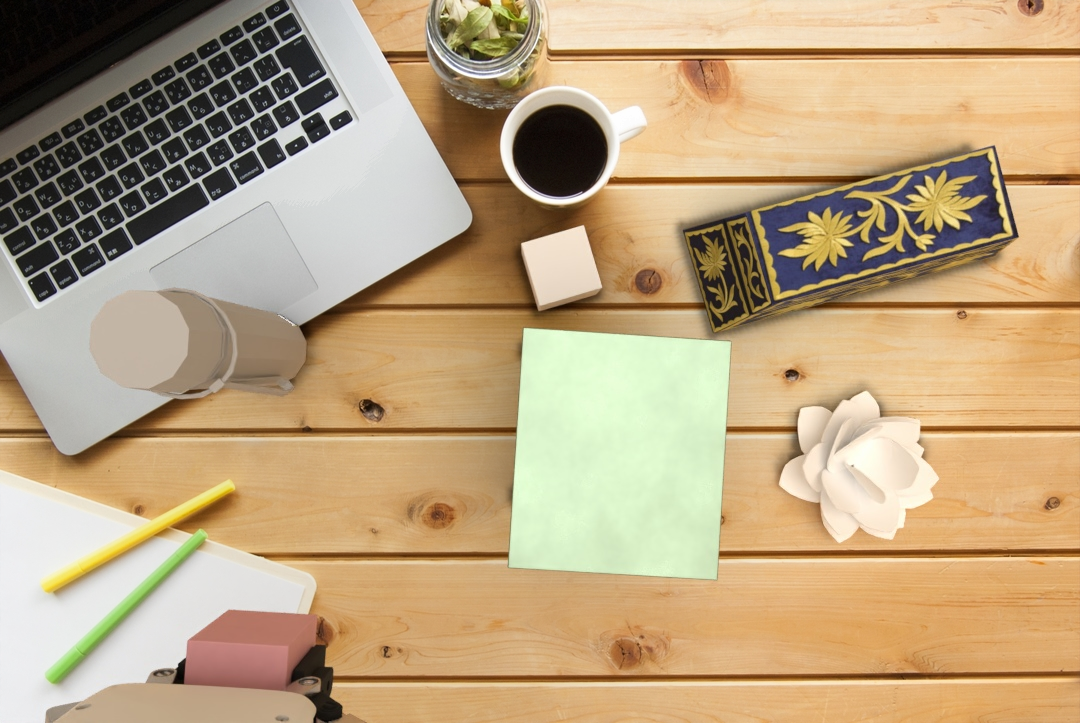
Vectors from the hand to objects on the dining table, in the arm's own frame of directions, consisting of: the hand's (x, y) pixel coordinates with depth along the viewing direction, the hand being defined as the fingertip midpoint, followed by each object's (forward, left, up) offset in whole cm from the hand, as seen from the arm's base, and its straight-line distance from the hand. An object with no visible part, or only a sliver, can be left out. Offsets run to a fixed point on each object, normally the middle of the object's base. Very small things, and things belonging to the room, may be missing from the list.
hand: (266, 669), depth 40 cm
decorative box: (+32, -44, -32) cm, 63 cm away
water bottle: (+17, +11, -32) cm, 38 cm away
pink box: (0, 0, 0) cm, 0 cm away
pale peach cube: (+27, -16, -32) cm, 45 cm away
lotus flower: (+10, -46, -32) cm, 57 cm away
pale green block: (+12, -20, -32) cm, 39 cm away
